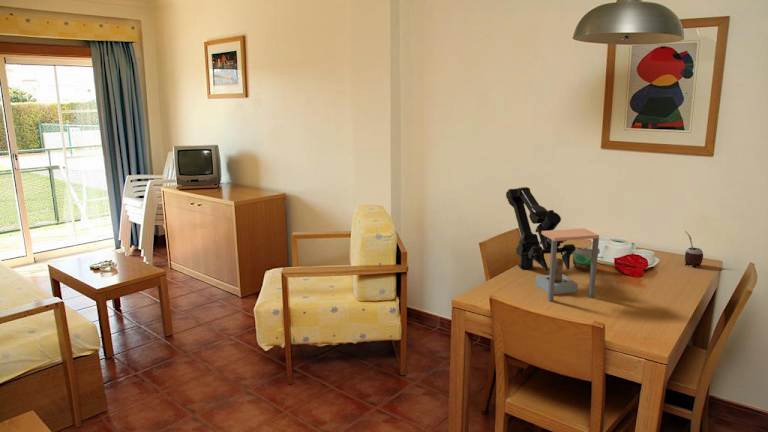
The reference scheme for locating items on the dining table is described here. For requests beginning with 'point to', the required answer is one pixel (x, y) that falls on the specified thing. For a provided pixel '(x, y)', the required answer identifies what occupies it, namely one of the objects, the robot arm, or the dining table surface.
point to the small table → (549, 280)
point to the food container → (582, 259)
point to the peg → (558, 270)
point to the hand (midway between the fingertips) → (557, 269)
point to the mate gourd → (693, 255)
